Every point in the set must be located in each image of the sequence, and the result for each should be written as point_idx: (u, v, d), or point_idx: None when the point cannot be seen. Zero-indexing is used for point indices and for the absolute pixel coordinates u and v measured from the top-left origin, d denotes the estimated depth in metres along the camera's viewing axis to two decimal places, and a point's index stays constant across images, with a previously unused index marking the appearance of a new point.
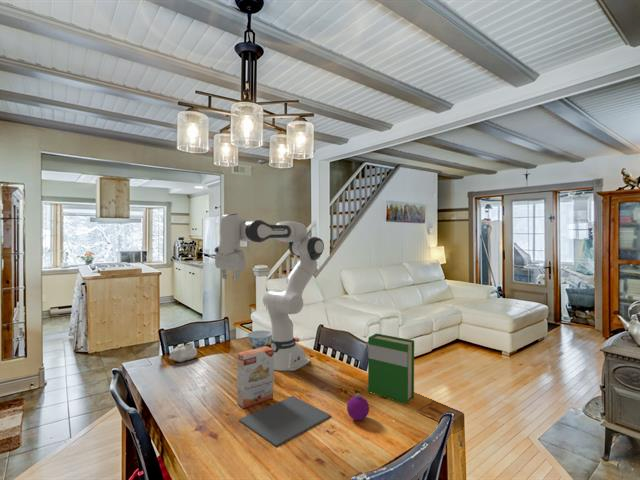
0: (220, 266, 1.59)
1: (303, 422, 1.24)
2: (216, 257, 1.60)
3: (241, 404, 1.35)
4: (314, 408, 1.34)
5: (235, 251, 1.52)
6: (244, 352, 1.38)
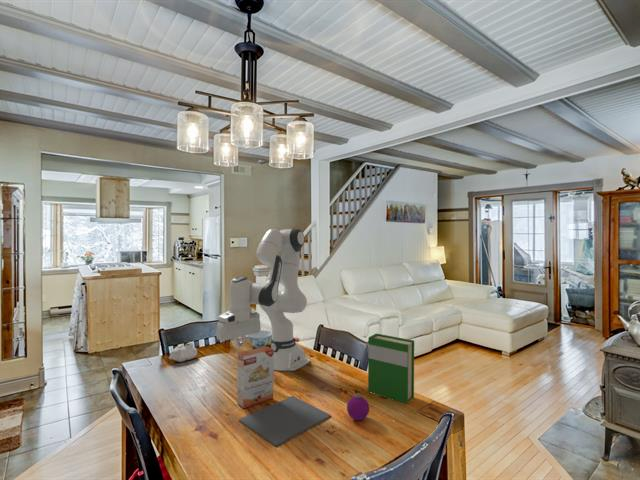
0: (230, 336, 1.44)
1: (303, 422, 1.24)
2: (225, 328, 1.41)
3: (241, 404, 1.35)
4: (314, 408, 1.34)
5: (250, 315, 1.52)
6: (244, 352, 1.38)
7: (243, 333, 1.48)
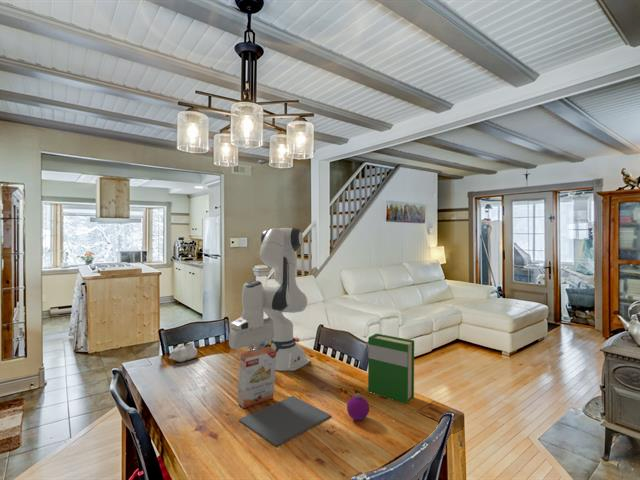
0: (244, 344, 1.37)
1: (303, 422, 1.24)
2: (238, 336, 1.34)
3: (241, 404, 1.35)
4: (314, 408, 1.34)
5: (263, 321, 1.45)
6: (247, 353, 1.37)
7: (256, 340, 1.41)
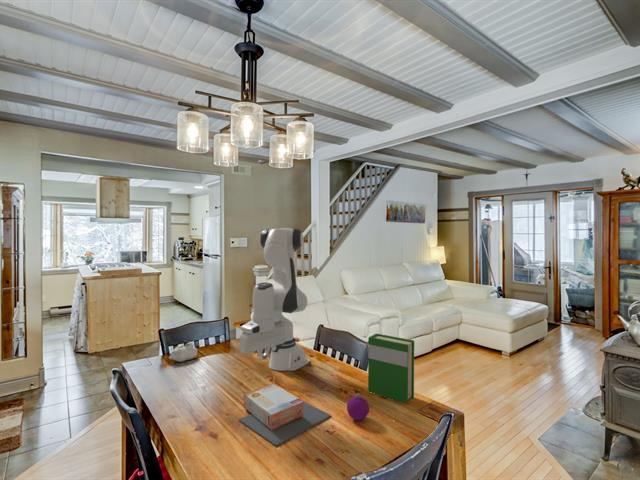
0: (255, 349, 1.31)
1: (303, 422, 1.24)
2: (249, 340, 1.29)
3: (245, 405, 1.33)
4: (314, 408, 1.34)
5: (274, 324, 1.40)
6: (276, 417, 1.20)
7: (268, 344, 1.36)
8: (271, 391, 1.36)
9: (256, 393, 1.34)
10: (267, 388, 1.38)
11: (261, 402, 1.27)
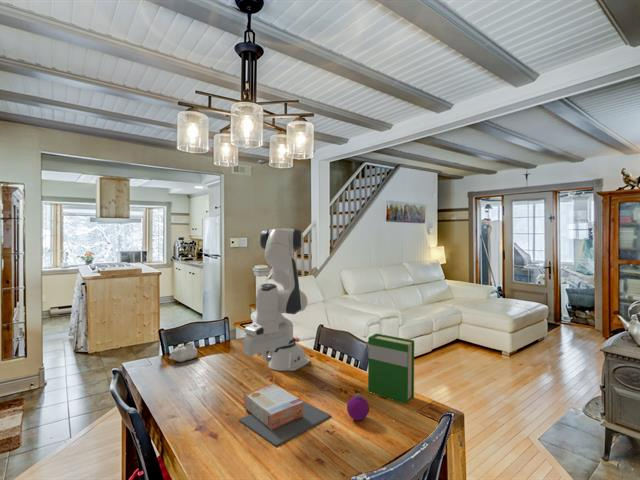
0: (259, 350, 1.30)
1: (303, 422, 1.24)
2: (253, 342, 1.27)
3: (245, 404, 1.33)
4: (314, 408, 1.34)
5: (278, 326, 1.38)
6: (277, 417, 1.20)
7: (272, 346, 1.34)
8: (272, 391, 1.36)
9: (256, 393, 1.34)
10: (267, 388, 1.38)
11: (261, 402, 1.27)
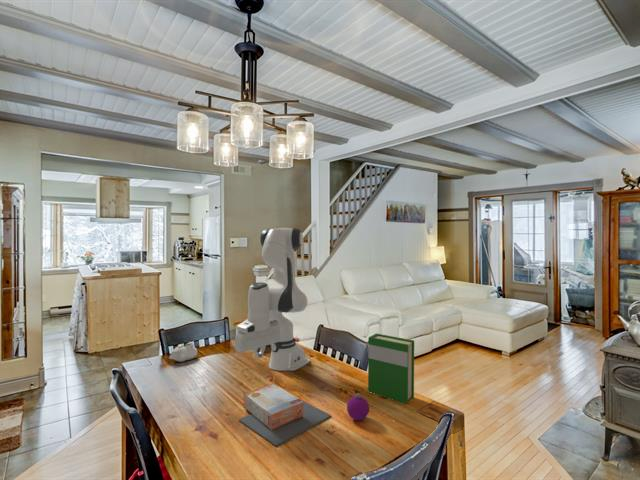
0: (250, 347, 1.34)
1: (303, 422, 1.24)
2: (244, 339, 1.32)
3: (245, 404, 1.33)
4: (314, 408, 1.34)
5: (270, 323, 1.42)
6: (277, 417, 1.20)
7: (263, 343, 1.38)
8: (272, 391, 1.36)
9: (256, 393, 1.34)
10: (267, 388, 1.38)
11: (261, 402, 1.27)
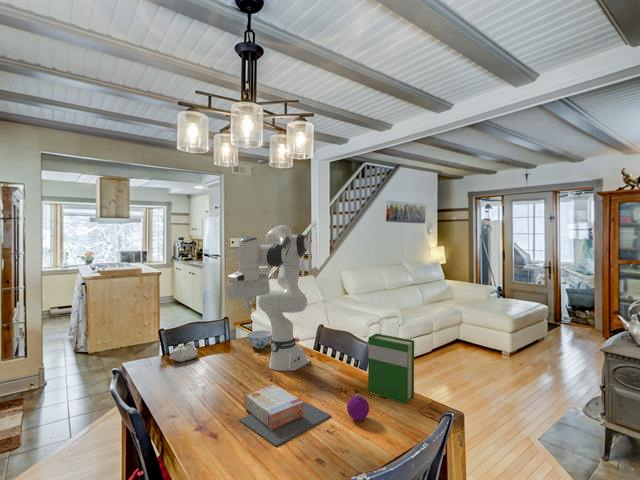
0: (240, 296, 1.42)
1: (303, 422, 1.24)
2: (234, 287, 1.40)
3: (245, 404, 1.33)
4: (314, 408, 1.34)
5: (259, 276, 1.50)
6: (277, 417, 1.20)
7: (252, 294, 1.46)
8: (272, 391, 1.36)
9: (256, 393, 1.34)
10: (267, 388, 1.38)
11: (261, 402, 1.27)
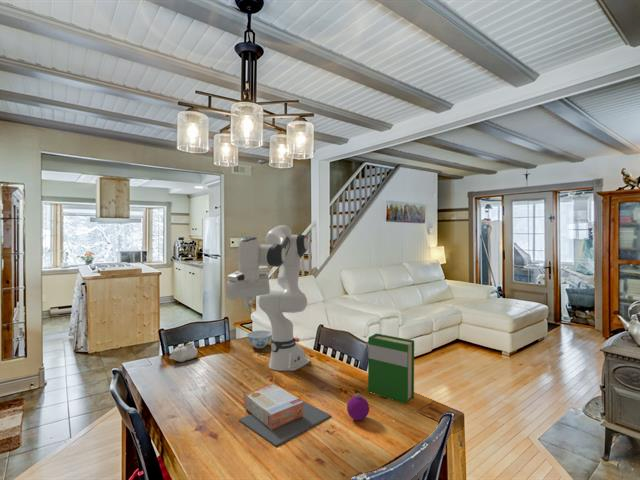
0: (240, 296, 1.42)
1: (303, 422, 1.24)
2: (234, 287, 1.40)
3: (245, 404, 1.33)
4: (314, 408, 1.34)
5: (259, 276, 1.50)
6: (277, 417, 1.20)
7: (252, 293, 1.47)
8: (272, 391, 1.36)
9: (256, 393, 1.34)
10: (267, 388, 1.38)
11: (261, 402, 1.27)
